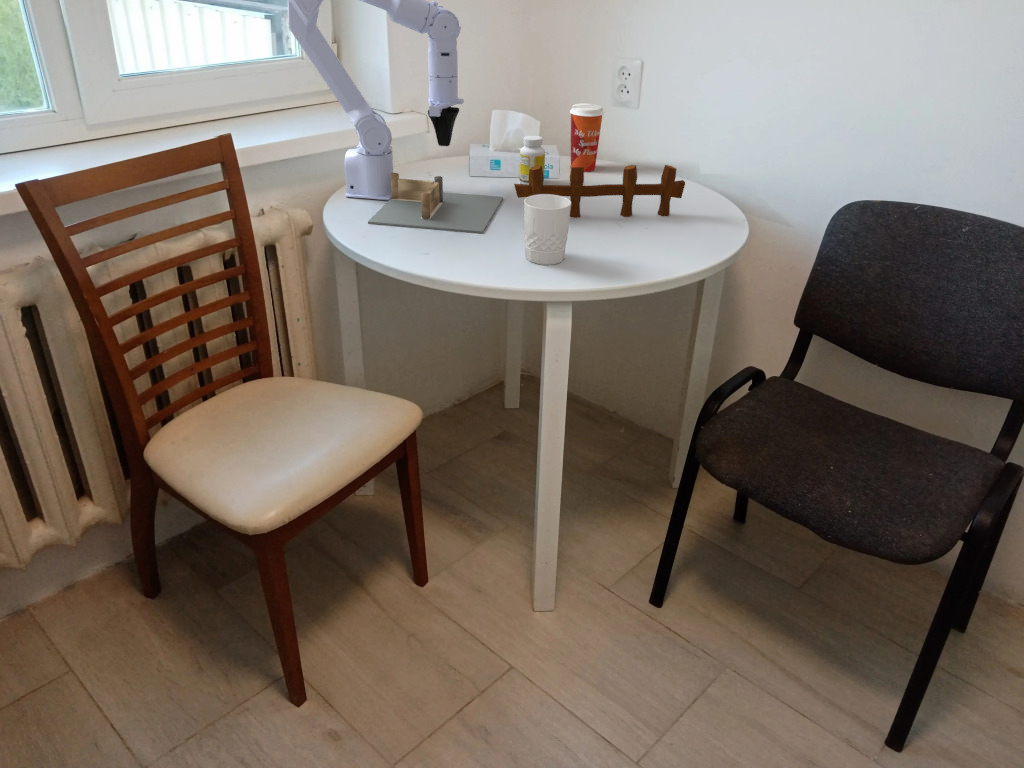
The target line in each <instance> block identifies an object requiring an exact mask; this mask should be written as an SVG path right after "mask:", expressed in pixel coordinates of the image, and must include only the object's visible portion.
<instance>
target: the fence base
mask: <svg viewBox="0 0 1024 768" xmlns="http://www.w3.org/2000/svg"><path fill="white" fill-rule="evenodd" d="M443 181H444V180H443V176H441V175H436V176H434V179H433V180H421V179H408V178H400V174H399V172H393V173H391V190H392V199H405V200H418V201H421V193H423V192H427V191H428V190H429V189H430V188H431V187H432V185H433V184H434V183H435V182H438V183H439V201H440V202H439V203H442V202H443V192H444V190H443V189H444V187H443V186H444V184H443Z"/></svg>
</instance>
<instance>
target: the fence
mask: <svg viewBox="0 0 1024 768" xmlns="http://www.w3.org/2000/svg"><path fill="white" fill-rule="evenodd" d="M637 168H638V167H637V165H635V164H630V165H627V166H625V167H624V169H623V173H622V183H621V184H620V183H616V184H612V183H610V184H608V183H607V184H595V185H584V182H585V172H584V167H571V166H570V174H569V184H564V185H563V184H544V183H543V180H544V181H545V175H544V176H543V169H542V166H539V165H537V166H534V167H531V168H530V169H529V185H528V184H521V183H513V186H514V189H515V193H516V197H517V198H518V199H520V198H521V199H522V198H527V197H529V196H532V195H539V194H551V195H558V196H562V197H569V198H570V199H569V200H570V201H571V211H570V218H574V219H577V218H580V217H581V200H582V199H581V198H585V197H587V198H588V197H589V198H591V197H592V198H593V197H604V196H609V197H610V196H622V203H621V204H622V205H621V208H620V213H619V216H621V217H623V218H631V217H632V216H633V200H634V196H660V201H659V202H660V203H659V208H658V210H657V211H658V212H657V216H660V217H669V216H670V214H671V213H670V212H671V209H670V208H671V200H672V199H671V198H676V199H682V197H683V193H684V189H685V185H686V181H684V180H683V179H682V180H676V178H677V177H676V176H677V168H676V167H674V166H673V165H669V164H665V165H664V167H663V171H662V173H661V177H660V183H638V182H637V181H638V169H637Z"/></svg>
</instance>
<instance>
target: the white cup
mask: <svg viewBox="0 0 1024 768" xmlns="http://www.w3.org/2000/svg"><path fill="white" fill-rule="evenodd" d="M570 211H571V201H570V199H569V198H567V197H566V196H558V195H551V194H539V195H532V196H529V197H524V200H523V226H524V227H523V231H524V233H523V234H524V246H525V248H524V250H525V251H524V253H525V258H526V260H527V261H528V262H530V263H531V264H532V263H533V264H536V265H544V266H545V265H546V266H550V265H556V264H559V263H562V262H563V261H564V260H565V257H566V256H565V255H566V245H567V243H568V242H567V241H568V234H569V230H570V229H569V228H570V219H571V217H570Z"/></svg>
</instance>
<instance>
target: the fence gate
mask: <svg viewBox="0 0 1024 768" xmlns="http://www.w3.org/2000/svg"><path fill="white" fill-rule="evenodd" d="M439 202H440V201H439V183H438V182H435V183H434V184H433V185H432V187H431V188H430V189H429V190H428V191H427V192H423V193H421V209H422V218H424V219H428V218H430V214H431V212H432V211H433V210H434V209H435V207H436V206H437V205H438V204H439Z"/></svg>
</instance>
